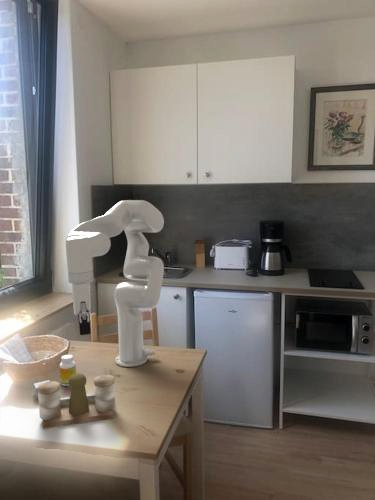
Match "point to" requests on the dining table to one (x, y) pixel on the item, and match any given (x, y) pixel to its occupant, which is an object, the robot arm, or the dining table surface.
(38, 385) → the grey rectangular block
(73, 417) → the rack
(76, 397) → the cork
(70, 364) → the supplement bottle
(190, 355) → the dining table surface
